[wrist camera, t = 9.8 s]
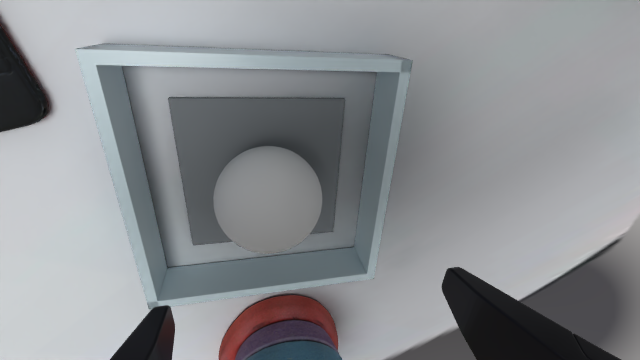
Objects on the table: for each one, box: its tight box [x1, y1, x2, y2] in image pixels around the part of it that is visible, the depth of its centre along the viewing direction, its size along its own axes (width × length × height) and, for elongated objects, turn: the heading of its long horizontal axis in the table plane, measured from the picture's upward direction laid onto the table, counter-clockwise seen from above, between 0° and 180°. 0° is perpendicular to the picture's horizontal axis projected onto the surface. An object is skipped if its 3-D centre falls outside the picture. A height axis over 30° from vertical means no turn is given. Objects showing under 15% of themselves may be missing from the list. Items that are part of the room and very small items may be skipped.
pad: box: [168, 97, 345, 245], centre depth 20 cm, size 10×10×1 cm
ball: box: [213, 146, 322, 254], centre depth 17 cm, size 6×6×6 cm
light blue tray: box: [75, 44, 413, 309], centre depth 19 cm, size 15×15×3 cm
